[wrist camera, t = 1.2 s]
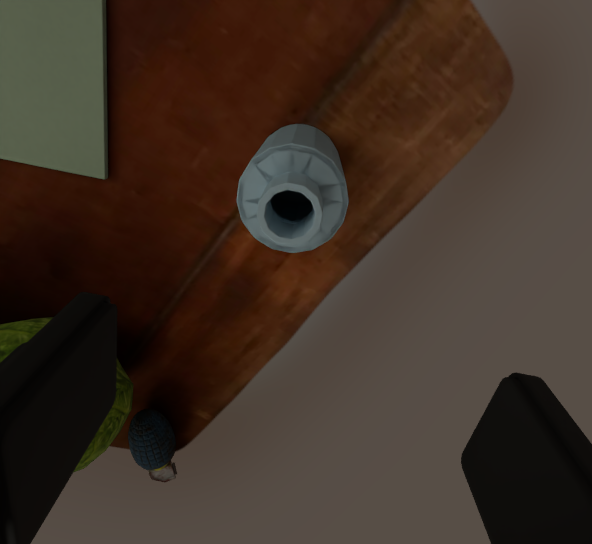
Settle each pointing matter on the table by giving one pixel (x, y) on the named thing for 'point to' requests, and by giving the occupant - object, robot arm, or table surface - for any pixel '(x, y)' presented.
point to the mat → (54, 85)
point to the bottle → (294, 190)
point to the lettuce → (12, 335)
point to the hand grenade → (153, 444)
